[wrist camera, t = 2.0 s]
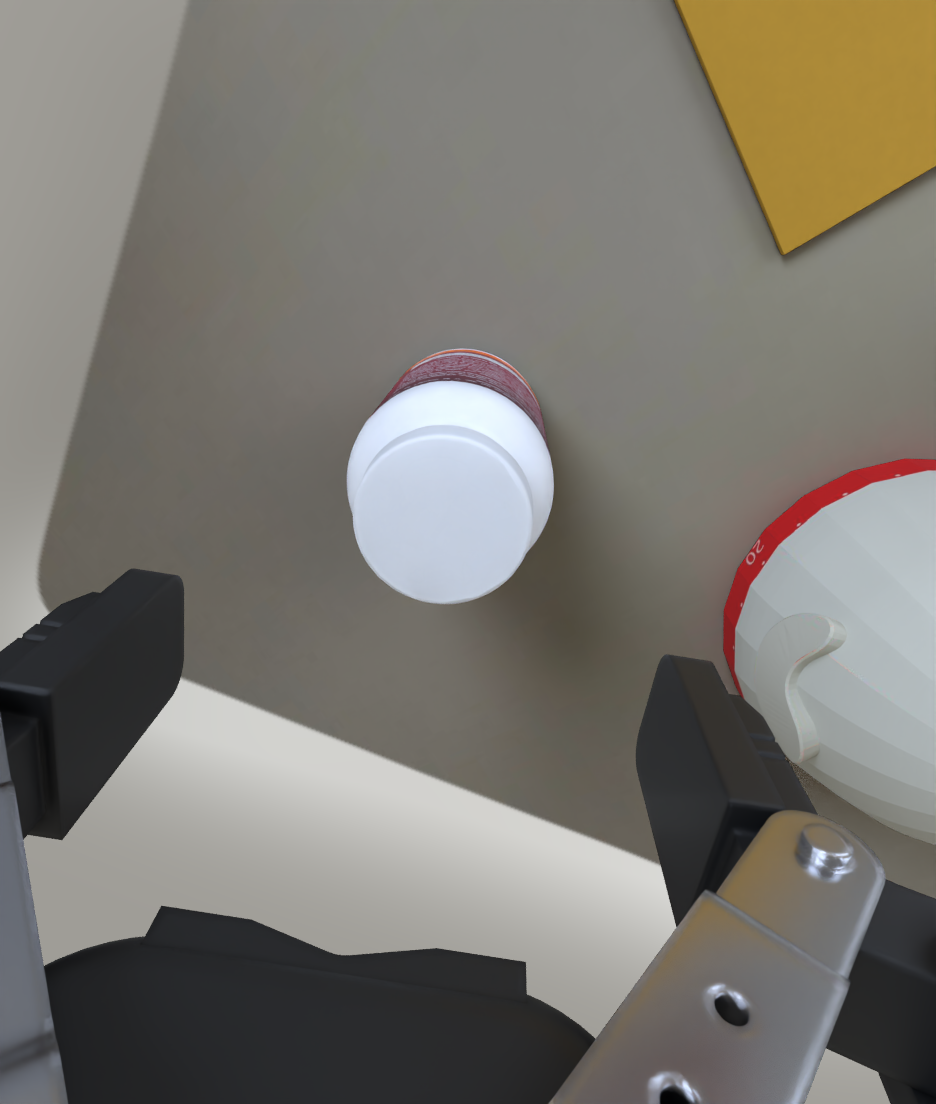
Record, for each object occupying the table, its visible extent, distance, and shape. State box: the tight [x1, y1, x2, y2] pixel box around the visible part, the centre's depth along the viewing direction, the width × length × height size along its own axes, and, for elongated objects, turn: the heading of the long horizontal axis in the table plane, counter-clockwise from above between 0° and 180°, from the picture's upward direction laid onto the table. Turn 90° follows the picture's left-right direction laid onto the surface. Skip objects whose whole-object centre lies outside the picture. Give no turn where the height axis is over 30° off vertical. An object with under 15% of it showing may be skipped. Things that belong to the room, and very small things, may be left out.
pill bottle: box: [347, 349, 554, 604], centre depth 24 cm, size 6×6×11 cm
